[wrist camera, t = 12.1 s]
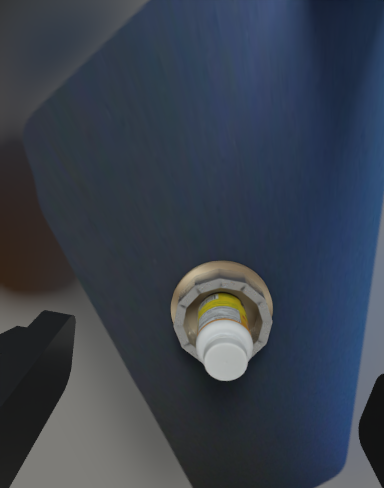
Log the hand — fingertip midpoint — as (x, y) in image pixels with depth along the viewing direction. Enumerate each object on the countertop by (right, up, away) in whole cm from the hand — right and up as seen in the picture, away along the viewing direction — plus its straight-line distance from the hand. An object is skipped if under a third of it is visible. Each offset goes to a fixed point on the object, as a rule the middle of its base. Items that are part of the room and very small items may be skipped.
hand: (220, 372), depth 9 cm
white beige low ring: (+3, -5, +32) cm, 32 cm away
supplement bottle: (+3, -4, +32) cm, 32 cm away
